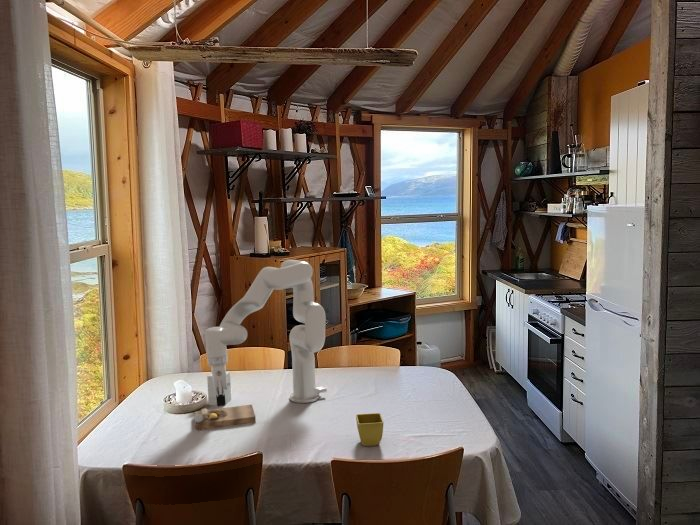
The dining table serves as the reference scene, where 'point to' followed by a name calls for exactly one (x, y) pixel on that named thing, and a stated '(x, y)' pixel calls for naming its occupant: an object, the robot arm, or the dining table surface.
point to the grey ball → (198, 418)
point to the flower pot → (370, 428)
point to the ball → (213, 415)
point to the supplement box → (213, 393)
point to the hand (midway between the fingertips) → (221, 405)
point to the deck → (226, 417)
